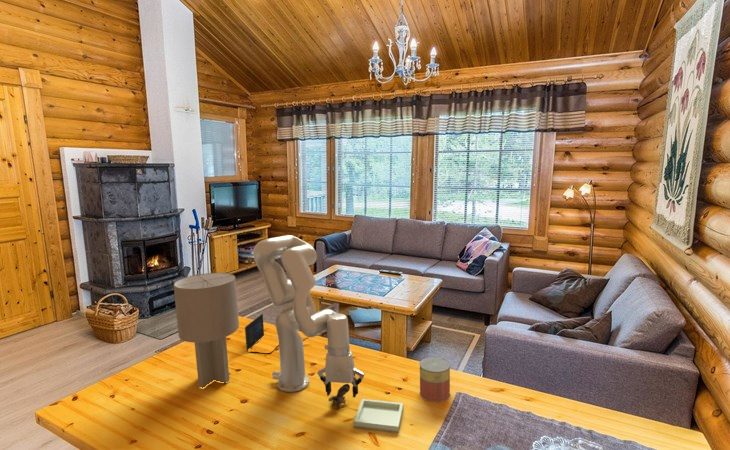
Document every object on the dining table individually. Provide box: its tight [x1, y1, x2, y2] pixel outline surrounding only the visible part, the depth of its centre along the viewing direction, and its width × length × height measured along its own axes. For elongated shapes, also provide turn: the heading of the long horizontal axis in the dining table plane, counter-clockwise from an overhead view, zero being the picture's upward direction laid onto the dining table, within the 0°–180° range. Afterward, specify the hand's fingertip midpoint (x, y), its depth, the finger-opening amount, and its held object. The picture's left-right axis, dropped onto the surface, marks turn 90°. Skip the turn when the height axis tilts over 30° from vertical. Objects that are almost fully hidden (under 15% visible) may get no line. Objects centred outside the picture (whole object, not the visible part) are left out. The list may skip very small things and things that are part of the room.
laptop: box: [244, 313, 275, 352], centre depth 192 cm, size 18×12×13 cm
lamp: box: [173, 272, 240, 388], centre depth 159 cm, size 23×23×43 cm
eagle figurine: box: [328, 383, 351, 411], centre depth 143 cm, size 8×7×9 cm
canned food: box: [419, 356, 451, 403], centre depth 147 cm, size 11×11×12 cm
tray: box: [353, 398, 404, 433], centre depth 134 cm, size 15×13×2 cm
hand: (342, 394), depth 141 cm, fingers open, 9 cm apart
